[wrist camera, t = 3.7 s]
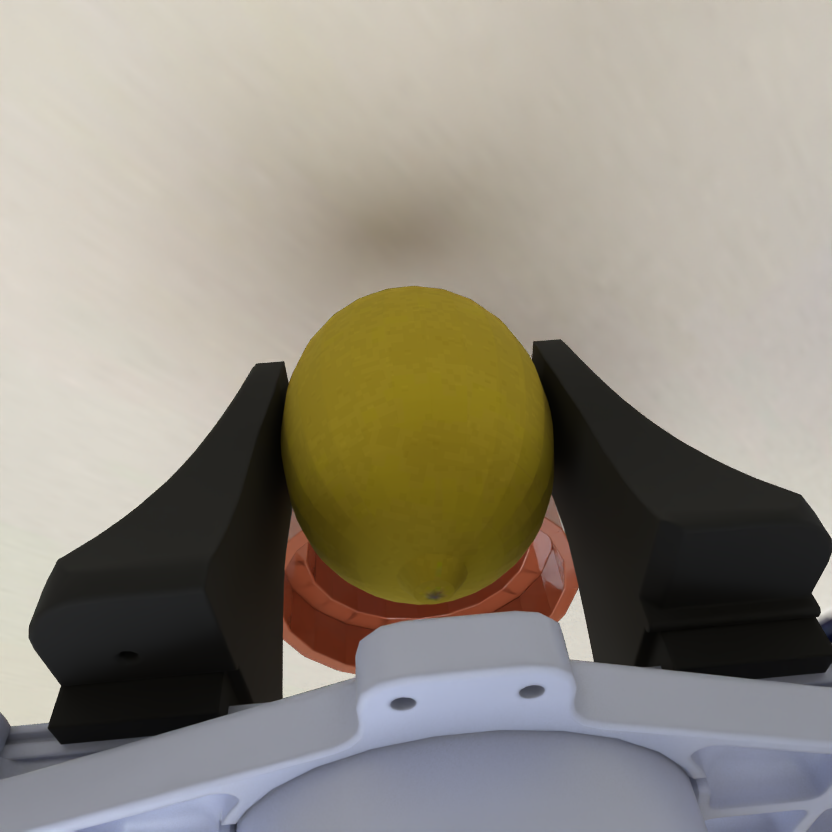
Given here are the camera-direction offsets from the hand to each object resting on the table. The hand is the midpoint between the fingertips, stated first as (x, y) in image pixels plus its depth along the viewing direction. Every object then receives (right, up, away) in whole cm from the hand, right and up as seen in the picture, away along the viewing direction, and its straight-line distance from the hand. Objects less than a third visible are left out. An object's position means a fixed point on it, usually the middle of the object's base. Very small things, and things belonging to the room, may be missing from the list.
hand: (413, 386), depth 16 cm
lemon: (0, +2, +2) cm, 3 cm away
